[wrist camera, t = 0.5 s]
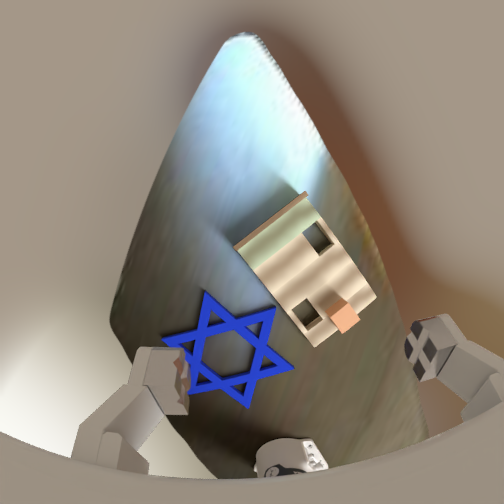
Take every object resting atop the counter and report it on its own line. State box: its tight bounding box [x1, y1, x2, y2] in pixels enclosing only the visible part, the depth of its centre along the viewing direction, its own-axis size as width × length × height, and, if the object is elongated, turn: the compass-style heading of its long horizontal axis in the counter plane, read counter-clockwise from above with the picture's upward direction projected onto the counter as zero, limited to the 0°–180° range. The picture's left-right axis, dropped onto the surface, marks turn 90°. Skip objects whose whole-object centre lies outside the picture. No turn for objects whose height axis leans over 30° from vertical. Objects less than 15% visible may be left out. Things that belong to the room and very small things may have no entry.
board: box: [233, 191, 377, 347], centre depth 57 cm, size 27×17×6 cm, turn 38°
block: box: [325, 298, 360, 334], centre depth 55 cm, size 4×4×4 cm
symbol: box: [161, 291, 294, 409], centre depth 61 cm, size 26×2×30 cm
